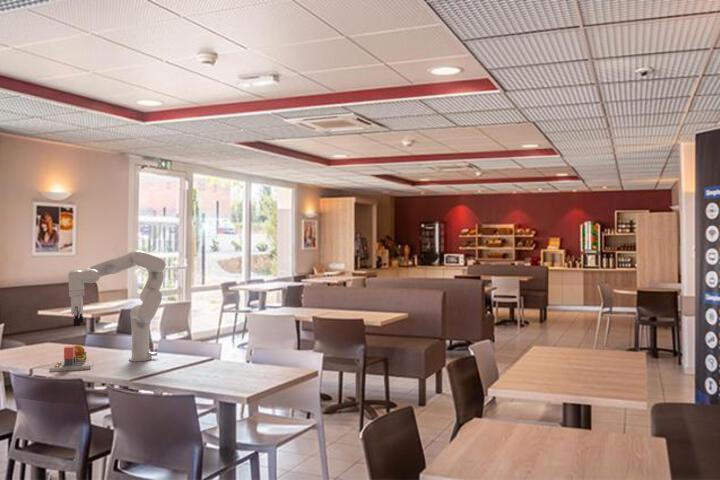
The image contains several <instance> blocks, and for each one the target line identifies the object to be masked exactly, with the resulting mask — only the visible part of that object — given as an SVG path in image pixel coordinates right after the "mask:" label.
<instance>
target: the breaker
mask: <svg viewBox="0 0 720 480" xmlns="http://www.w3.org/2000/svg"><path fill="white" fill-rule="evenodd" d="M63 359H64V358H63ZM63 363H64V365H74V358H73V359H64V362H63Z"/></svg>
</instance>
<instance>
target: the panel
mask: <svg viewBox="0 0 720 480" xmlns="http://www.w3.org/2000/svg"><path fill="white" fill-rule="evenodd" d="M92 366H93V367H94V366H95V363H94V361H87V359H86V360H84V361H76V363H74V365H64V362H60V361H59V362H55V363H53V364H52V365H51V366H50V367H49V373H51V372H52V373H53V372H67V371H66V370H73V371H81V370H80V369H89V370H92V368H93V367H92ZM91 367H92V368H91Z"/></svg>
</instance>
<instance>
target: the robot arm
mask: <svg viewBox="0 0 720 480" xmlns="http://www.w3.org/2000/svg"><path fill="white" fill-rule="evenodd" d="M136 266H139V267H141V268H143V269H146V270H147V272H148V277H147V280H146V283H145V284H144V287H143V288H142V291H141V292H140V296H139V299H140V301H141V302H142V303H141V304H137V305H133V307H132V308H131V309H130V315H129V316H130V317H129V318H130V325H131V356H130V357H128V361H130V362H144V361H145V362H146V361H150V360H152V358H153V357H156V356H158V352H157V351H155V352H154V351H153V352H151V350H150V325H149V323H150V322H151V321H153V319H154V317H155V316H156V313H157V311H158V310H159V307H160V306H161V303H162V300H163V296H162V293H161V291H160V290H161V288H162V285H163V282H164V270H165V269H166V262H165V260H164V259H163V258H161V257H159V256H155V255H153V254H150V253H148V252H145V251H142V250H131V251H129V252H126V253H123V254H122V255H118V256H117V257H114V258H111V259H109V260H106V261H103V262H100V263H97V264H95V265H92V266H90V267H87V268H85V269H83V270H80V269H78V270H70V271H69V272H68V275H67V276H68V290H69V292H68V294H69V295H68V296H69V297H70V310H71V311H70V312H71V313H70V314H71V316H73V327H79V326H81V324H83V323H84V315H83V314H84V313H83V312H84V299H83V297H85V284H94V283H97V282H98V281H99V280H100V278H101V277H104V276H108V275H109V276H110V275H114V274H118V273H121V272H123V271H126V270H128V269H132V268H133V267H136Z"/></svg>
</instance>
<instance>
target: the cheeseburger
mask: <svg viewBox="0 0 720 480" xmlns="http://www.w3.org/2000/svg"><path fill="white" fill-rule="evenodd" d="M74 346H75V355H76V361H84V360H86V361H87V356H88V355H87V354H88V352H86V351H85V348H84V347H83V346H82V345H74Z"/></svg>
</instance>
